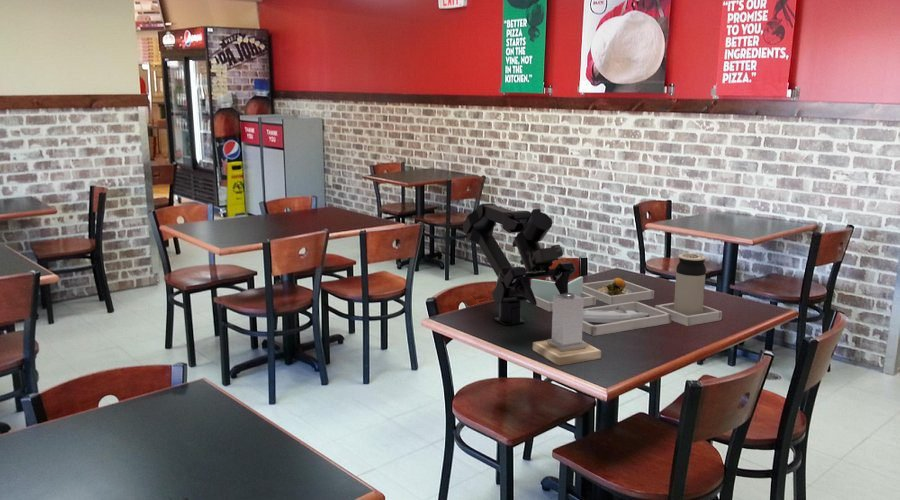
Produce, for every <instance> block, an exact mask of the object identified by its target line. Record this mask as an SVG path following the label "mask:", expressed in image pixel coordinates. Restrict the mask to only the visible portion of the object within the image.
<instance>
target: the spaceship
mask: <svg viewBox="0 0 900 500" xmlns="http://www.w3.org/2000/svg"><path fill="white" fill-rule="evenodd" d="M619 307H621V308H623V310H618V308H619ZM648 315H649V313H642V312H638V311H631V310H630V311H626V309H625V307H624V306H617V307H616V309H615V310H614V311H598V310H595V311H590V310H588V311H583V321H585V322H587V323H590V324H607V323H613V322H619V321H626V320H632V319H638V318H645V317H649V316H648Z"/></svg>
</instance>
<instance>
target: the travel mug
mask: <svg viewBox="0 0 900 500" xmlns="http://www.w3.org/2000/svg"><path fill="white" fill-rule="evenodd" d="M677 257H678V258H679V261H678V263H677V264H676V272H675V273H676V274H675V286H674V300H673V303H674V311H675V312H678V313H681V314H683V315H686V316H691V315H697V314H702V313H703V305H704V299H705V285H706V274H707V273H706V272H707V268H706V265H705V261H706V259H707V256H705V255H703V254H699V253H698V254H697V253H680V254H678V256H677Z"/></svg>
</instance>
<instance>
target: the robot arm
mask: <svg viewBox="0 0 900 500" xmlns="http://www.w3.org/2000/svg"><path fill="white" fill-rule="evenodd" d="M496 224H500V225H501V227H502V230H505V232H506V233H508V234H516V233H517V235H516V236H514V239H513V242H512V245H511V246H512V247H513V248H517V250H518V251H517V252H518V253H519V255H520V258H521V259H520V261H519V263H520V265H522V266H512V265H511V263H510V261H509V260H508V258H507V256H506V254H505V252H504V251H503V250H502V248H501V247H500V244H499V243H498V241H497V240H496V238H495V236H494V235H493V234H494V229H495V226H496ZM552 226H553V220H552V218H551V216H550V215H548V214H546V213H545V212H543V211H542V210H541V208H533V209H532V210H531V211H529V210H510V209H507V208H505V207H502V206H499V205H497V204H495V203H480V204H479V205H478V206H477V207H476V209H474V211H472V212H471V213H469V214H467V216H466V218H465V219H464V221H463V224H462V230H463V233H464V234H465V236H466V237H467V239H468V240H469V242H473V243H475V244H477V245H478V246H479V248H480V249H481V252H482V253H483V255H484V256H485V259H486V260H487V262H488V263H489V265H490V266H491V268H492V270H493V272H494V273H495V276H496V277H497V279H496V284H495V288H494V289H493V291H492V293H491V294H492V300H493V301H495V302H496V303H499V307H498V311H499V313H498V316H497V317H494V321H496V322H498V323H500V324H502V325H503V326H512V325H518V324H524V323H526V321H525V319H522V318H521V317H522V316H521V314H522V310H521V304H522V303H521V302H523V301H525V302H527V300H528V301H529V302H530V304H531V305H532V306H533V307H535V306H536V305H537V303H536V299H535V296H534V294H533V292H532V289H531V282H530V280H531V279H542V278H543V279H544V278H550V277H552V279H553V282H555V286H556V287H557V289H558V291H559V293H560V294H563V293H568V283H569V280H570V279H571V277H572V276H573V275H574V274H575V272H576V271H577V269H576V267H575V264H574V263H573V262H571V261H566V262H559V263H558V264H557V266H556V267H555V268H551V269H550V267H552V266H553V265H554V263H553V262H555V261H558V260H559V258H561V257H563V256H564V252H563V249H562V246H561V245H560V244H554V245H551V246H550V247H545V248H541V246H540V245H541V244H540V242H541V241H543V239H544V237H545V236H547V234H548V232H550V229H551V228H552ZM523 266H524V267H523ZM529 302H528V303H529ZM536 307H537V306H536Z"/></svg>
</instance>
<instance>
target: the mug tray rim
mask: <svg viewBox="0 0 900 500" xmlns="http://www.w3.org/2000/svg"><path fill="white" fill-rule="evenodd" d="M654 308H656V309H658V310H661V311H664V312H666V313H669V314H672V318H671V322H675V323H678V324H681V325H683V326H685V327H689V326H696V325H700V324H701V325H702V324H706V323H712V322H719V321H722V316H723V311H722V310H718V309H715V308H713V307H709V306H706V305H704V304H703V313H702V314H697V315H691V316H686V315H683V314H681V313H678V312H675V311H674V302H669V303H663V304H656V305H655V306H654Z"/></svg>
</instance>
